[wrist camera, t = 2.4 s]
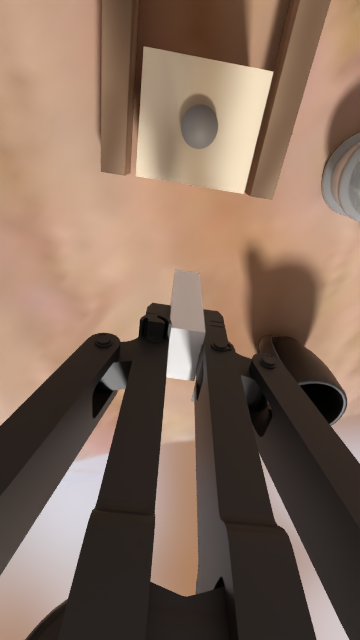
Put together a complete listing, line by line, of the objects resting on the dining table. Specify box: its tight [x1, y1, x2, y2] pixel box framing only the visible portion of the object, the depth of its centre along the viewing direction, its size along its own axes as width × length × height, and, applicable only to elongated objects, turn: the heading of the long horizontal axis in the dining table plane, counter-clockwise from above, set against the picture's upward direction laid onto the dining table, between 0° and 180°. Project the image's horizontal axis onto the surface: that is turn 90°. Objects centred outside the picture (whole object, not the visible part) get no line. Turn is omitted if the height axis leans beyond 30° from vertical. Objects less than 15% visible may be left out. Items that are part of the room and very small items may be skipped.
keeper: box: [136, 46, 273, 194], centre depth 22 cm, size 8×7×8 cm
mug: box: [259, 335, 347, 426], centre depth 33 cm, size 8×12×10 cm
